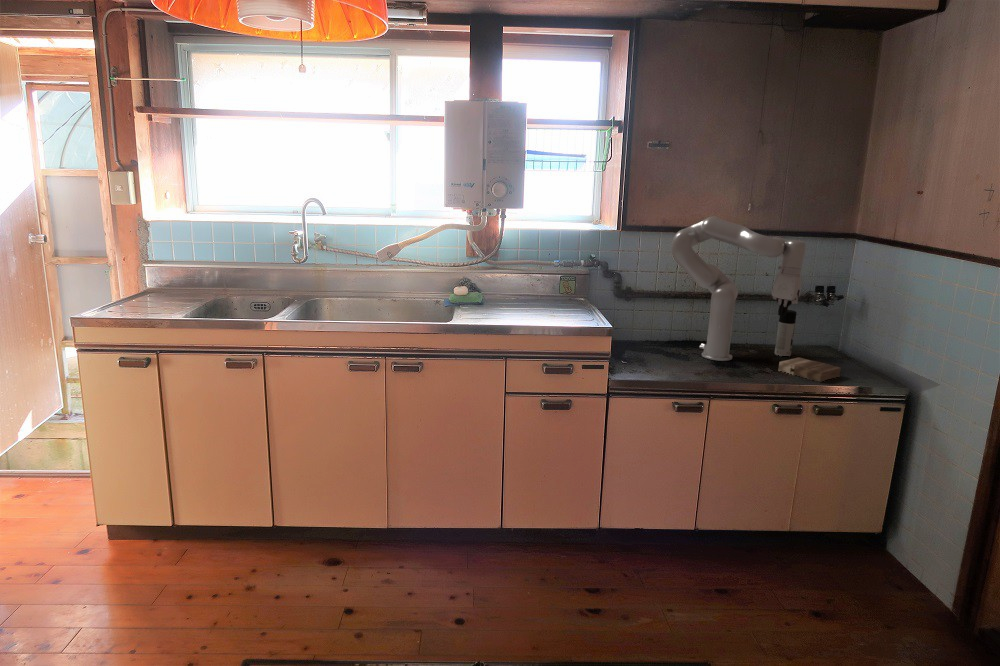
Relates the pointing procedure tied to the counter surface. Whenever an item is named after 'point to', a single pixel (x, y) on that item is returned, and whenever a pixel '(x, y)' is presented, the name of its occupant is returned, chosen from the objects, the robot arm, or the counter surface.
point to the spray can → (785, 333)
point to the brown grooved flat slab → (816, 371)
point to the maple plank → (791, 364)
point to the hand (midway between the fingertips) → (781, 315)
